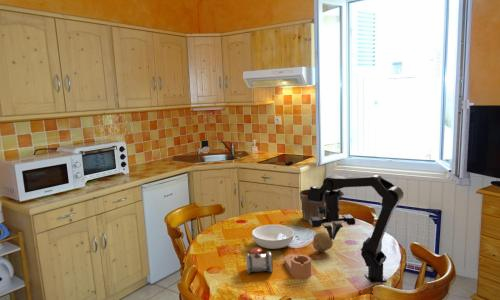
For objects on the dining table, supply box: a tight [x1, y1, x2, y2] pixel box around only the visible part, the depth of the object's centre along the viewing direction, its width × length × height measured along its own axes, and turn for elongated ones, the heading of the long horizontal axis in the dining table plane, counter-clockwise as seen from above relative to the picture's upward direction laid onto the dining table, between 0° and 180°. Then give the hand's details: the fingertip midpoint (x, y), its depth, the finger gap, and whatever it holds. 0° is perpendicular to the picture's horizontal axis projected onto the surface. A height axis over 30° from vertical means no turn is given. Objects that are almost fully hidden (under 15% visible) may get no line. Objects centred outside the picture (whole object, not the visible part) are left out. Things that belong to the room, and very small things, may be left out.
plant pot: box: [298, 188, 325, 222], centre depth 217 cm, size 16×16×16 cm
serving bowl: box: [251, 224, 295, 250], centre depth 183 cm, size 21×21×7 cm
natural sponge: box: [312, 230, 334, 253], centre depth 173 cm, size 9×9×10 cm
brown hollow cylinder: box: [284, 253, 312, 280], centre depth 158 cm, size 18×8×7 cm, turn 11°
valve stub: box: [245, 247, 274, 274], centre depth 157 cm, size 10×9×10 cm
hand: (332, 239), depth 158 cm, fingers closed
